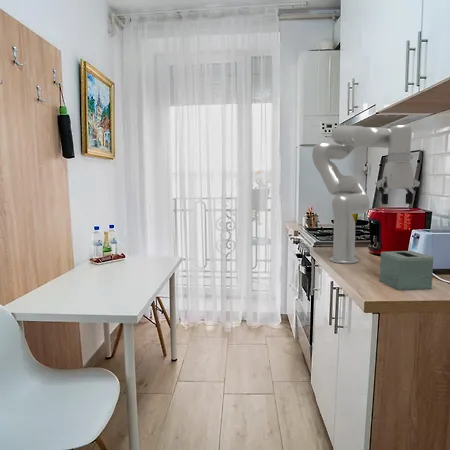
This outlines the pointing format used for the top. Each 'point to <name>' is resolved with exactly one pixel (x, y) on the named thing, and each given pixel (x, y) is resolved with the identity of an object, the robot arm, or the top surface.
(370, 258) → the top surface
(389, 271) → the coin box
